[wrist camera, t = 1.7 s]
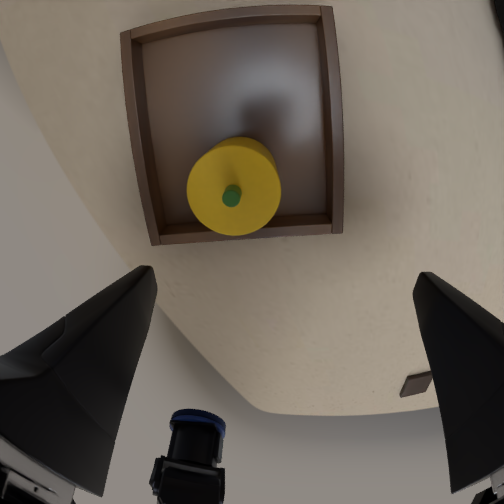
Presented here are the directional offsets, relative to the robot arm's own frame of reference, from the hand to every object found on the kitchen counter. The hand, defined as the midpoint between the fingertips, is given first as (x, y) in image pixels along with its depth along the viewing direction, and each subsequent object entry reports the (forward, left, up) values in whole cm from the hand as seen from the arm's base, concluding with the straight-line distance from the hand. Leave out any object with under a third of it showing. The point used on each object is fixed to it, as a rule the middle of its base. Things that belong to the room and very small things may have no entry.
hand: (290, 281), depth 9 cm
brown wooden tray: (-2, +5, -13) cm, 14 cm away
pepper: (-2, +1, -13) cm, 13 cm away
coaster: (+18, -26, -13) cm, 34 cm away
